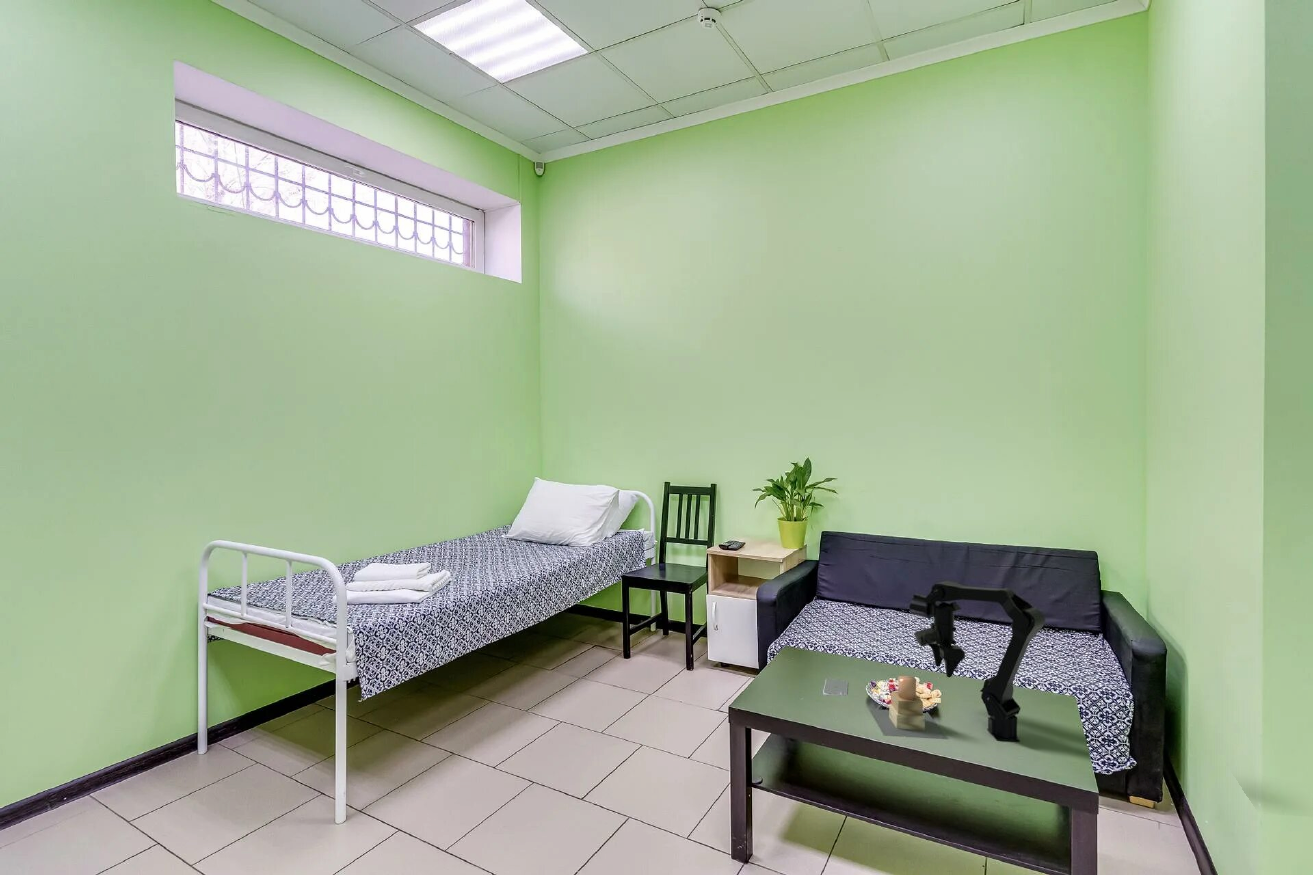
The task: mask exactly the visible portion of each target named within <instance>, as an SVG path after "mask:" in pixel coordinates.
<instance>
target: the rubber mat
mask: <svg viewBox="0 0 1313 875" xmlns="http://www.w3.org/2000/svg"><path fill="white" fill-rule="evenodd" d="M868 711H869V712H870V713H871V716H872V718H873V719H874V721H875V723H876V724H877V727H878V728H879V729H880V732H881V733H882V735H883V736H887V737H889V736H890V737H902V736H903V738H904V736H905V737H906V738H917V739H918V738H920V739H921V738H922V739H934V740H935V739H937V740H939V739H940V740H949V738H948V736H947V735H946V734H945V733H944V731H943V730H942V729H941V727H940V726H939V725H938V724H937V722H936V721H935V719H933V717H932V716H931V715H930V714H929V712H927V711H926V713H923V715H924V716H925V730H914V729H897V728H896V727H895V725H894V723H893V722H892V720H891V719H890V717H889V709H874V708H869V709H868Z"/></svg>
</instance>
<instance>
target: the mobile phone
mask: <svg viewBox="0 0 1313 875" xmlns="http://www.w3.org/2000/svg"><path fill="white" fill-rule="evenodd" d="M848 685H849V681H847V680H841V679H836V678H826V679H825V682H824V687H823V692H822V694H823V695H824V696H828V695H832V696H837V697H846V696H847V694H848Z"/></svg>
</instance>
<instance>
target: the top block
mask: <svg viewBox="0 0 1313 875" xmlns="http://www.w3.org/2000/svg"><path fill="white" fill-rule="evenodd" d="M923 703H924V702H923V700H922V699H921V698H920V697H919V695H918V694H917V693H916V699H915V700H906V699H902V698H900V697H899V696H898V691H891V704H892V706H893V707H894V709H895V710H896V712H897V713H898V714H902V715H920V716H923V712H924V711H923V710H924V709H923V708H924V707H923V706H924V704H923Z"/></svg>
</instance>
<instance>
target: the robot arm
mask: <svg viewBox="0 0 1313 875" xmlns="http://www.w3.org/2000/svg"><path fill="white" fill-rule="evenodd" d="M959 600H964V601H976V602H988V603H998V604H999V605H1000V606H1001V608H1002V609H1003V610H1004V612H1005V614H1006V615H1007V616H1008V617H1009V618H1010V619H1011V620H1012V622H1011V633H1012V635H1011V637H1010V640H1009V642H1008V646H1007V648H1006V650H1005V652H1004V655H1003V657H1002V659H1001V663H1000V664H999V667H998V670H997V672H996V674H995V675H994V676H992V677H988V678H987V679H985V680H984V682H983V687H982V688H981V689H980V690H979V691H980V693H981V696H980V698H981V700H982V702H983V704H984V707H985V710H986V713H987V715H988V718H987V728H986V729H987V730H986V731H987V732H988V733H989V734H990V735H991V736H992V737H993V738H994V740H997V741H1007V742H1009V741H1010V742H1020V741H1021V740H1020V738H1019V737H1018V717H1017V716H1016V715H1018V714H1019V713H1020V712H1021V706H1020V705H1019V703H1018V702H1017V701H1016V700H1015V699H1014V697H1013V696H1014V690H1015V689H1014V680H1015V678H1016V675H1017V674H1018V671H1019V668H1020V666H1021V664H1022V661H1023V658H1024V656H1025V654H1026V651H1027V650H1028V648H1029V645H1030V642H1031V641H1032V640H1033V639H1034V638H1035V637H1036V636H1037V635H1038V633H1039V632H1040V630H1042V628H1043V627H1044V625H1045V623H1046V617H1045V615H1044V614H1043V613H1042V611H1041V610H1040V609H1038V608H1035V607H1034V606H1033V605H1032V604H1031V603H1030V602H1028V601H1027V600H1025V599H1024V598H1022V597H1021V596H1020V595H1017V594H1016V592H1015V591H1013V590H1012V589H1010V588H996V587H995V588H993V587H980V586H979V587H978V586H968V585H962V584H960V583H958V582H953V581H950V580H947V581H942V582H937V583H936V582H935V583H934V584H933V585H932V587H931V591H930V592H929V594H928V595H923V594H920V593H915V594H913V598H912V599H911V601H910V604H909V612H910V614H912V615H913V616H917V617H922V618H925V619H928V620H929V619H932V618H933V622H931V624H930V627H928V628H925V629H924V628H923V629H921V630H917V631H915V632H914V633H913V634H914V637H915V639H916V642H917V644H919V646H921V647H925V646H929V647H930V649H931V652H932V655H933V659H934V663H935V664H934V665H935V666H936V667H938V668H939V667H941V666H942V662H943V660H944V667H945V668H944V669H945V674H946V678H952V677H953V675H954V673H955V671H956V668H957V667H958V666H959V664H960V663H961V661H964V659H966V652H965V650H963V648H961V647H960V646H959V645H956V644H957V641H956V640H955V634H954V633H955V632H957V627H956V626H955V612H958V611H961V610H962V607H961V606H960V605H959V604H958V603H957V602H956V601H959ZM953 601H954V602H953ZM938 602H939V603H938ZM940 602H941V603H940ZM950 602H951V603H950Z"/></svg>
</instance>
